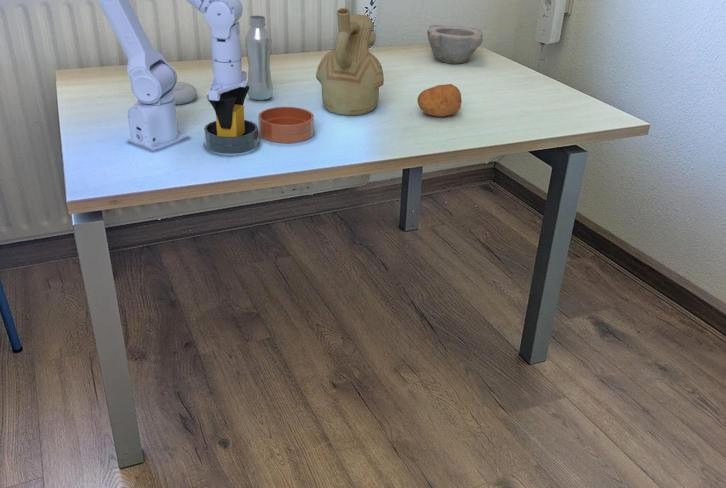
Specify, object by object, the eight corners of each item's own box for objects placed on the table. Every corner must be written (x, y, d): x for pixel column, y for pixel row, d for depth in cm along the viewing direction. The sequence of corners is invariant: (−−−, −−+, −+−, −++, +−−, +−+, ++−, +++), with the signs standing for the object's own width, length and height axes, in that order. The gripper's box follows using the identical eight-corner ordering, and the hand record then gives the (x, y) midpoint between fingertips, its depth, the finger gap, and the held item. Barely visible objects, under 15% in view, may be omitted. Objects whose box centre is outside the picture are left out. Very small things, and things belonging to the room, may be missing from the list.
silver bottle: (260, 92, 173) (257, 12, 163) (278, 98, 170) (277, 17, 159) (241, 98, 169) (237, 16, 159) (260, 104, 165) (256, 21, 155)
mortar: (478, 55, 215) (482, 25, 210) (479, 69, 200) (483, 38, 196) (426, 51, 217) (429, 22, 212) (423, 65, 202) (426, 34, 197)
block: (236, 139, 139) (235, 112, 136) (217, 136, 140) (215, 109, 136) (245, 132, 142) (243, 105, 139) (225, 129, 143) (224, 102, 140)
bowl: (290, 150, 141) (290, 129, 139) (247, 136, 147) (247, 116, 145) (324, 134, 150) (324, 114, 148) (283, 121, 156) (282, 103, 153)
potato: (466, 120, 162) (470, 90, 158) (423, 123, 159) (426, 92, 155) (452, 107, 169) (456, 78, 165) (410, 110, 166) (413, 80, 163)
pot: (233, 160, 136) (232, 141, 134) (194, 146, 141) (193, 128, 139) (269, 144, 144) (268, 126, 142) (231, 132, 149) (230, 115, 147)
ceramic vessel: (390, 100, 172) (397, -2, 160) (371, 125, 156) (376, 14, 143) (328, 92, 176) (329, -8, 163) (302, 116, 160) (301, 7, 147)
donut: (148, 104, 163) (187, 107, 161) (146, 90, 161) (185, 93, 159) (167, 92, 171) (204, 95, 169) (165, 78, 169) (202, 82, 168)
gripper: (230, 70, 126) (234, 138, 133) (259, 52, 138) (261, 114, 145) (196, 66, 127) (201, 133, 134) (227, 48, 139) (231, 110, 146)
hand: (230, 123), depth 140 cm, fingers closed on block, 4 cm apart
